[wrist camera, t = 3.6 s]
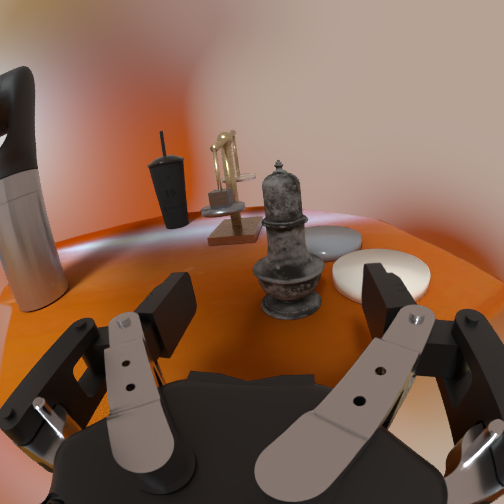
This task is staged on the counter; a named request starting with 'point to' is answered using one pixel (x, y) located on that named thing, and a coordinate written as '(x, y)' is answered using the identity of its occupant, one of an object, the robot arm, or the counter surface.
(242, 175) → the brass balance
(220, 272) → the counter surface
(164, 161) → the drinking cup
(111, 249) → the counter surface
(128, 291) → the counter surface
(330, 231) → the slate-grey dish
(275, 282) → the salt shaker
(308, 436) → the robot arm
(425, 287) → the cream dish
